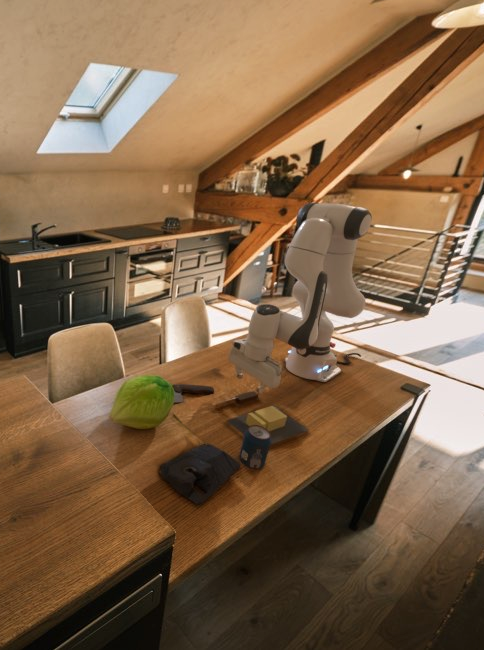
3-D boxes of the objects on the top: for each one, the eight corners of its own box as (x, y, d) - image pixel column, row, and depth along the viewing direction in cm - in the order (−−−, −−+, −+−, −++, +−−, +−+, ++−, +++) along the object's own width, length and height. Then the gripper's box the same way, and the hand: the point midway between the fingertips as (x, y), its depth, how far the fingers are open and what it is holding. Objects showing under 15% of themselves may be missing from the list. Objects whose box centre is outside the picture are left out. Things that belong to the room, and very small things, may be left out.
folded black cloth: (248, 475, 108) (251, 462, 106) (194, 510, 97) (196, 496, 95) (206, 442, 120) (208, 430, 118) (153, 469, 109) (155, 457, 107)
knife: (251, 397, 142) (253, 389, 141) (257, 401, 140) (259, 393, 139) (212, 409, 135) (213, 401, 134) (216, 413, 133) (218, 405, 132)
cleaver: (209, 387, 148) (210, 382, 147) (219, 402, 139) (220, 397, 138) (134, 389, 145) (134, 384, 145) (140, 405, 137) (140, 400, 136)
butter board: (272, 408, 137) (276, 395, 135) (308, 433, 125) (312, 420, 123) (225, 423, 128) (228, 410, 126) (258, 452, 117) (262, 438, 114)
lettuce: (105, 441, 127) (88, 392, 128) (163, 411, 138) (146, 366, 139) (135, 448, 110) (115, 392, 111) (197, 413, 121) (179, 362, 122)
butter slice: (249, 421, 127) (251, 412, 126) (263, 433, 122) (266, 423, 121) (245, 423, 127) (248, 413, 125) (260, 434, 122) (262, 424, 120)
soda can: (251, 452, 116) (259, 421, 112) (268, 469, 110) (278, 437, 106) (233, 458, 114) (240, 426, 109) (249, 475, 108) (258, 442, 103)
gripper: (289, 363, 124) (279, 399, 129) (242, 336, 141) (234, 368, 146) (276, 367, 121) (266, 403, 127) (229, 339, 138) (222, 372, 144)
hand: (248, 384), depth 136 cm, fingers open, 8 cm apart
